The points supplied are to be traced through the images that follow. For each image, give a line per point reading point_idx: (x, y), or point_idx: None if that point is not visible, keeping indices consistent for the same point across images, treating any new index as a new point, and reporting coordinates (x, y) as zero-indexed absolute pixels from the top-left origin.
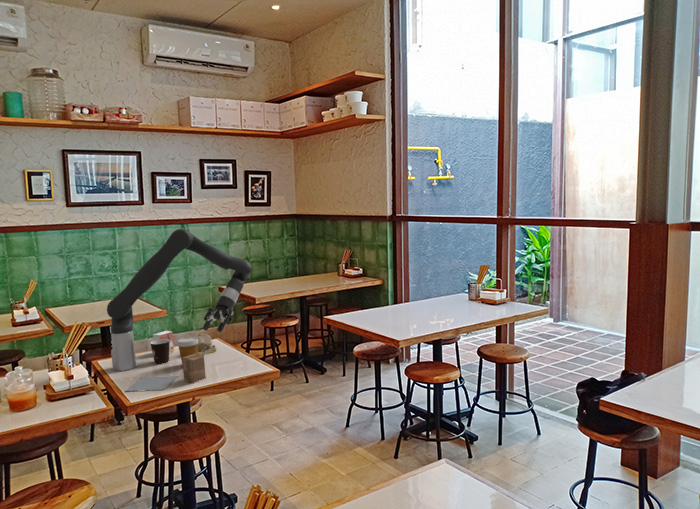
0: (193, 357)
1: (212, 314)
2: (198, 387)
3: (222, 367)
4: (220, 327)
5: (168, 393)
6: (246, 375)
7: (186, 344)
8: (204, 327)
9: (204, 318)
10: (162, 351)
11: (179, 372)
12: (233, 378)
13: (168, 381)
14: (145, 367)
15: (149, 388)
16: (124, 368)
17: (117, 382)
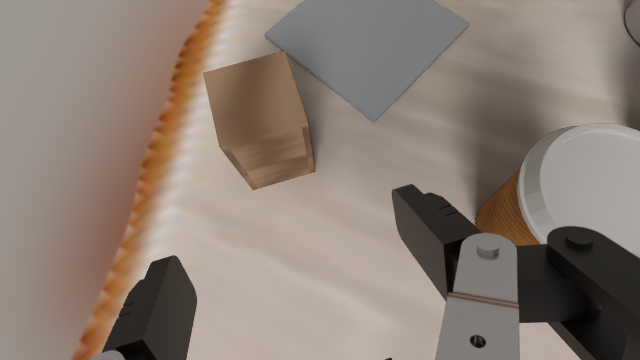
0: (235, 91)
1: (465, 357)
2: (180, 123)
3: (336, 328)
4: (135, 298)
5: (220, 35)
6: None
7: (531, 159)
8: (397, 192)
9: (568, 231)
10: None
11: (428, 148)
12: (139, 274)
13: (333, 71)
14: (619, 80)
15: (314, 6)
16: (632, 6)
17: None
